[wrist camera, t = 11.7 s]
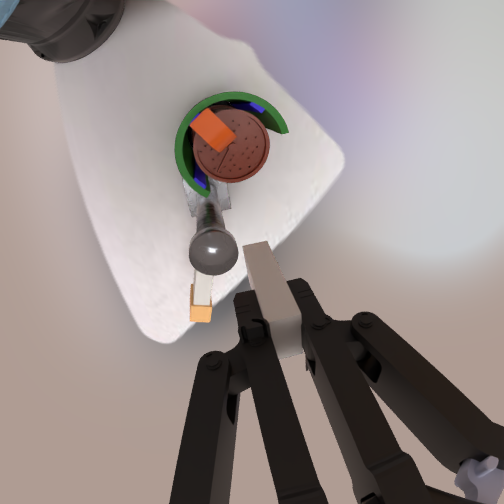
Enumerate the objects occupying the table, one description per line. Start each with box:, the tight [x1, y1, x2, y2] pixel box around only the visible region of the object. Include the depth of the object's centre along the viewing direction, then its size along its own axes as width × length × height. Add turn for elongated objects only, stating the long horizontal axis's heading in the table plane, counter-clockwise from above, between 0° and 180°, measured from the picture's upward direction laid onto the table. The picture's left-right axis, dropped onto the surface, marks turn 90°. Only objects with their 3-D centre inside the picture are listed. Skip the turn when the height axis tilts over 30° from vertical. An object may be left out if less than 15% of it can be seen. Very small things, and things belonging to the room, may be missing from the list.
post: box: [182, 176, 238, 276], centre depth 33 cm, size 6×6×18 cm
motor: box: [175, 92, 289, 198], centre depth 28 cm, size 10×9×20 cm
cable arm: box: [190, 269, 214, 322], centre depth 35 cm, size 3×10×5 cm, turn 169°
